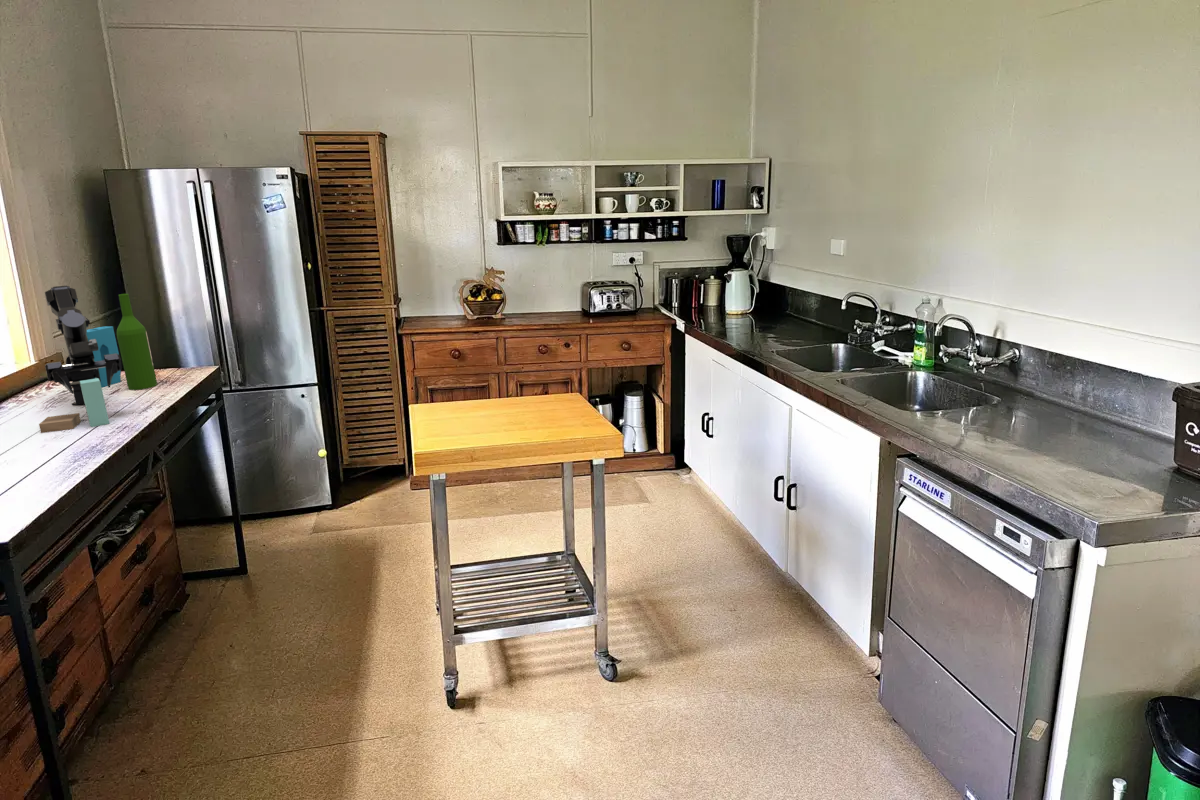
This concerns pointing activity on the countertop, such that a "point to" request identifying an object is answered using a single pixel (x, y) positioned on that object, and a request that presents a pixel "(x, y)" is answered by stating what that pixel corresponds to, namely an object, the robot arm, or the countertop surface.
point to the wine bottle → (134, 349)
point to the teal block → (94, 402)
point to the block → (104, 350)
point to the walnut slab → (60, 423)
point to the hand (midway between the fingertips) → (91, 389)
